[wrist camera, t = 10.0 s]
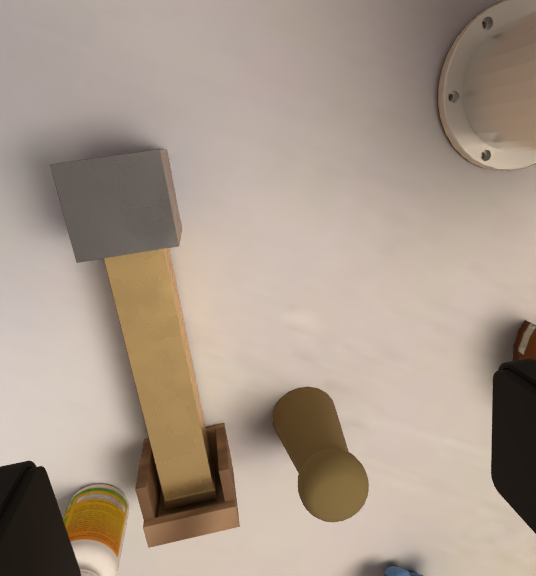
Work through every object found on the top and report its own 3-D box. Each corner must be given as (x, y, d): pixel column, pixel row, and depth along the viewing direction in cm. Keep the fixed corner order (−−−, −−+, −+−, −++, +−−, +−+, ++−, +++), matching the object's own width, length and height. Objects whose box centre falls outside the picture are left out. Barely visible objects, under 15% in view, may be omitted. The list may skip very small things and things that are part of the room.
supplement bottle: (66, 483, 40) (28, 581, 31) (128, 480, 41) (109, 573, 32) (70, 532, 42) (34, 639, 32) (130, 528, 43) (112, 631, 33)
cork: (259, 421, 41) (280, 511, 31) (303, 374, 41) (340, 450, 30) (305, 454, 43) (340, 549, 33) (348, 410, 43) (397, 492, 32)
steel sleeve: (166, 150, 34) (159, 149, 27) (182, 229, 35) (178, 246, 29) (79, 162, 33) (50, 164, 26) (99, 242, 35) (76, 262, 28)
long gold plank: (160, 200, 34) (156, 206, 30) (214, 464, 41) (216, 498, 37) (103, 209, 33) (91, 216, 29) (168, 474, 40) (165, 509, 36)
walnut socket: (224, 423, 41) (229, 474, 34) (232, 468, 42) (239, 526, 36) (144, 439, 40) (134, 495, 33) (155, 485, 42) (148, 547, 35)
